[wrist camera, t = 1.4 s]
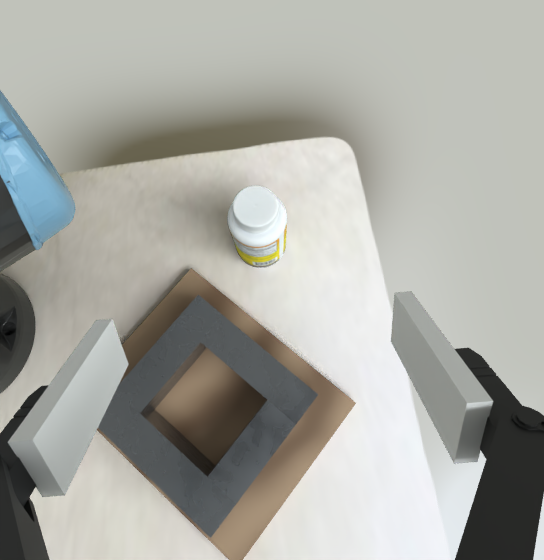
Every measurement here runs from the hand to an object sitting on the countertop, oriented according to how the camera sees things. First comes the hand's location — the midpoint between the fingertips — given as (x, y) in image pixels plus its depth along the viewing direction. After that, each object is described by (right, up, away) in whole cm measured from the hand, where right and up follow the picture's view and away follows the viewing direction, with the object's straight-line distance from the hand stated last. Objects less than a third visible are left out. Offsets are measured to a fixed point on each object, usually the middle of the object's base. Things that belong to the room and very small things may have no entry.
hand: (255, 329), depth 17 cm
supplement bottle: (0, +6, +24) cm, 25 cm away
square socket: (-5, -10, +20) cm, 23 cm away
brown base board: (-5, -10, +20) cm, 23 cm away
